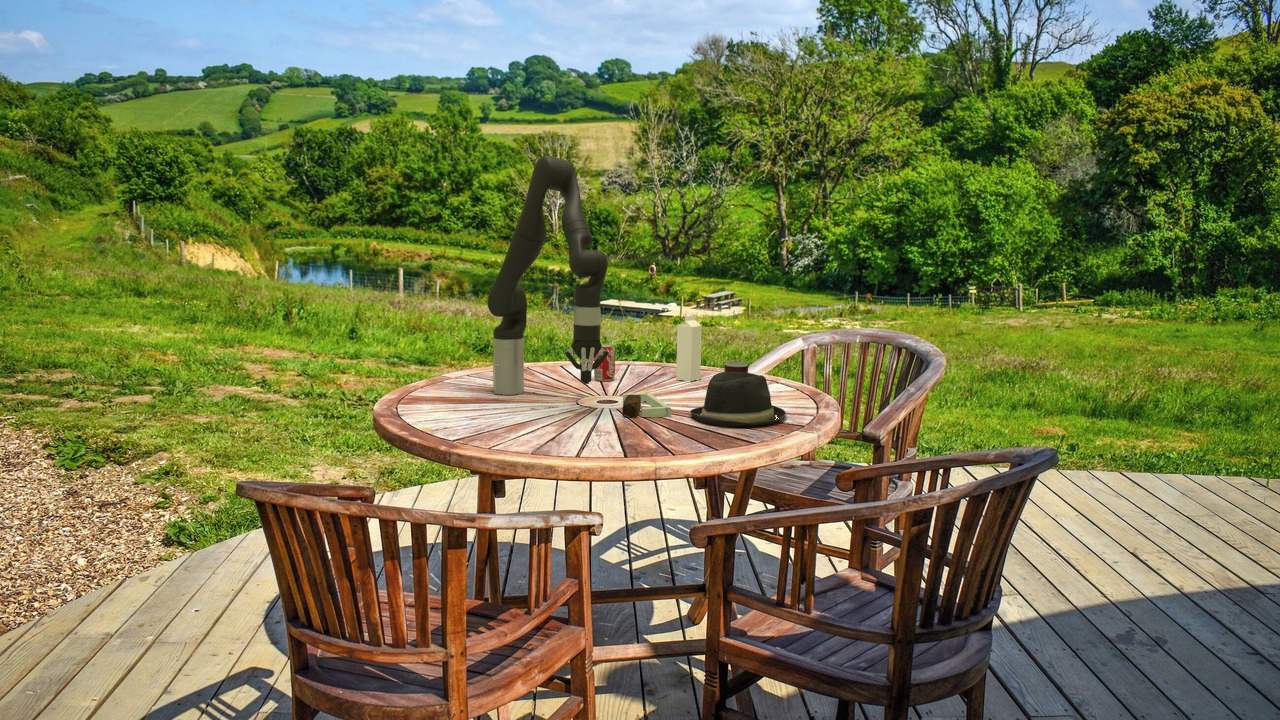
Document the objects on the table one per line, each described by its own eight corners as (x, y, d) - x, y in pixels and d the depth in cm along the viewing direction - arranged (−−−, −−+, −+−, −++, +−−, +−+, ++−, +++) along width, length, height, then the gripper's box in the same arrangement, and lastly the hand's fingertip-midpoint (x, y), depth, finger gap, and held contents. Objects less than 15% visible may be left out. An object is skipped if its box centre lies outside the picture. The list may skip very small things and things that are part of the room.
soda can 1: (616, 378, 294) (616, 344, 292) (613, 382, 287) (613, 347, 285) (595, 377, 294) (595, 343, 292) (592, 381, 287) (592, 346, 285)
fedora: (804, 419, 238) (806, 375, 236) (738, 434, 220) (740, 386, 218) (737, 404, 256) (738, 363, 254) (671, 417, 238) (672, 373, 236)
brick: (627, 409, 247) (627, 393, 246) (641, 410, 246) (641, 394, 245) (622, 418, 236) (622, 401, 236) (636, 418, 236) (636, 402, 235)
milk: (676, 380, 292) (676, 316, 288) (686, 378, 297) (686, 314, 293) (691, 382, 288) (692, 317, 285) (700, 380, 293) (702, 315, 289)
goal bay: (642, 417, 236) (642, 409, 236) (622, 402, 256) (622, 393, 256) (670, 416, 238) (671, 407, 238) (649, 400, 258) (649, 392, 258)
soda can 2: (725, 404, 254) (726, 364, 252) (721, 399, 261) (723, 360, 259) (748, 405, 255) (750, 364, 253) (744, 400, 262) (746, 360, 260)
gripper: (607, 320, 243) (605, 380, 246) (561, 320, 240) (560, 381, 243) (613, 324, 236) (611, 385, 239) (566, 324, 233) (564, 386, 236)
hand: (585, 383), depth 241 cm, fingers closed
